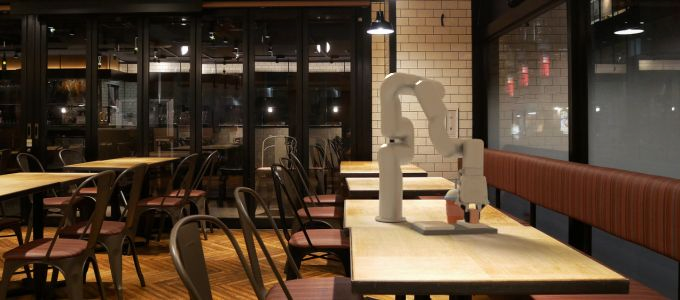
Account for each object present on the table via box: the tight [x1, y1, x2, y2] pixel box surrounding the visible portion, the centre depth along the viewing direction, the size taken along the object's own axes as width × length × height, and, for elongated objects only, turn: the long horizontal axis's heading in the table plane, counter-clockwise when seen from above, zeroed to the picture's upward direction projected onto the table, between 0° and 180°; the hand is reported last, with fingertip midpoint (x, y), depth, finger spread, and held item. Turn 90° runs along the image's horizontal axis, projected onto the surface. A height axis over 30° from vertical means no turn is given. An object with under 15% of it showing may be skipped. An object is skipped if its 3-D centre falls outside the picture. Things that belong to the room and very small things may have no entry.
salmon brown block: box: [457, 207, 489, 228], centre depth 224 cm, size 12×7×6 cm, turn 11°
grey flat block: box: [409, 220, 499, 236], centre depth 223 cm, size 15×28×3 cm, turn 101°
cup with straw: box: [443, 177, 464, 224], centre depth 242 cm, size 9×9×18 cm
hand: (471, 221), depth 224 cm, fingers closed on salmon brown block, 3 cm apart
